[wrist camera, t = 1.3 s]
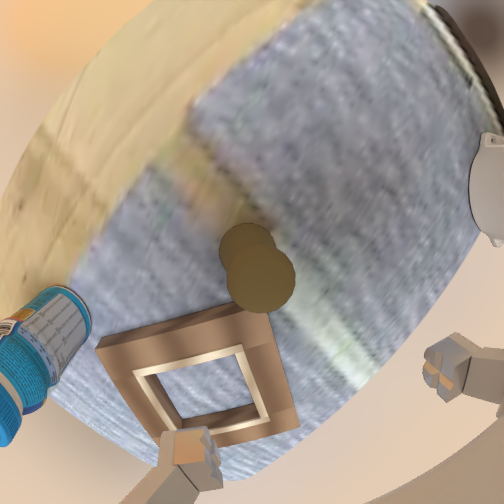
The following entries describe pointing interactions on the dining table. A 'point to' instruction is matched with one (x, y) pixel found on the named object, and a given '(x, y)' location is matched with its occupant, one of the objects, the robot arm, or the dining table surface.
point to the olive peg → (256, 269)
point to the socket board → (194, 352)
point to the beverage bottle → (37, 353)
